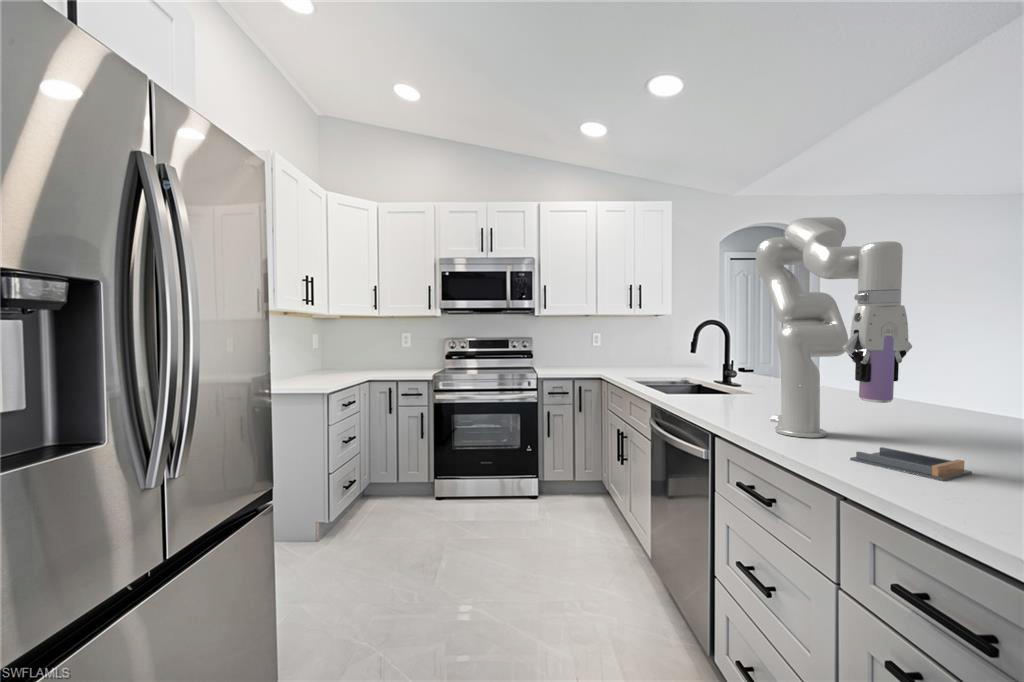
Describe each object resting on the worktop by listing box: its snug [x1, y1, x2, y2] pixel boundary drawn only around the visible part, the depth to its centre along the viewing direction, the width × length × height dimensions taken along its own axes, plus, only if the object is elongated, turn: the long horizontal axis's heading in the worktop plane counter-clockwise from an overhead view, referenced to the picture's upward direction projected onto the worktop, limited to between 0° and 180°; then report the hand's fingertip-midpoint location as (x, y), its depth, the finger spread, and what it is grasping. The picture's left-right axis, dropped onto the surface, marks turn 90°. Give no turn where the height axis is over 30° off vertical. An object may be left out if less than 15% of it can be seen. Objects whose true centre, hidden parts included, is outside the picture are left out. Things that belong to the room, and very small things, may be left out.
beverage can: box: [858, 334, 895, 404], centre depth 103 cm, size 6×6×15 cm
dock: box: [849, 446, 973, 482], centre depth 101 cm, size 17×11×2 cm, turn 24°
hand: (876, 380), depth 103 cm, fingers closed on beverage can, 5 cm apart
